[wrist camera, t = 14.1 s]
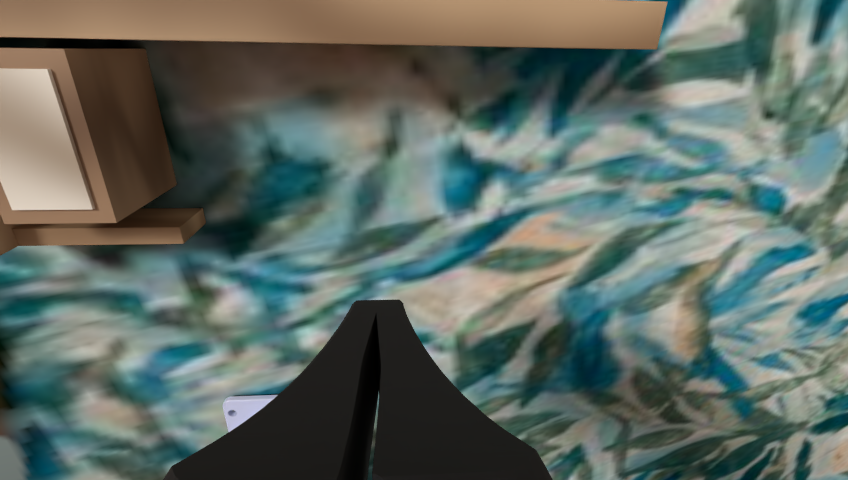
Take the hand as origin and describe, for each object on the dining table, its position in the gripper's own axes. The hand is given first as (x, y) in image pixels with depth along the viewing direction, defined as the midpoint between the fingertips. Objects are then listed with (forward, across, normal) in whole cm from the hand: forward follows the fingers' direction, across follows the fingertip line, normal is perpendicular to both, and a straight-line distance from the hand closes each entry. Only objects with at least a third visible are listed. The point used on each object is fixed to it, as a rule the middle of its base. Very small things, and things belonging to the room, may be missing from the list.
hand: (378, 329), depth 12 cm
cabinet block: (+10, +12, -4) cm, 16 cm away
